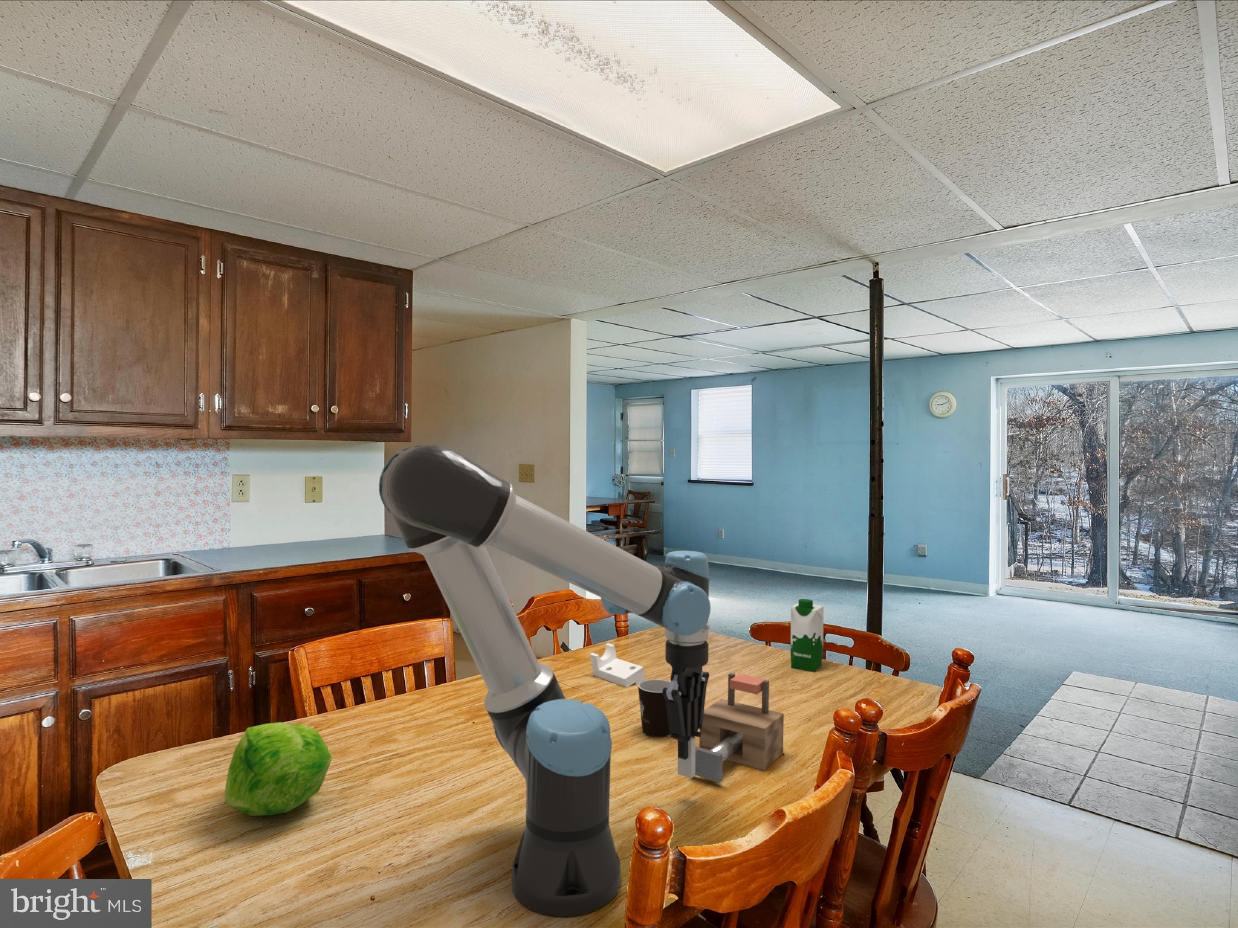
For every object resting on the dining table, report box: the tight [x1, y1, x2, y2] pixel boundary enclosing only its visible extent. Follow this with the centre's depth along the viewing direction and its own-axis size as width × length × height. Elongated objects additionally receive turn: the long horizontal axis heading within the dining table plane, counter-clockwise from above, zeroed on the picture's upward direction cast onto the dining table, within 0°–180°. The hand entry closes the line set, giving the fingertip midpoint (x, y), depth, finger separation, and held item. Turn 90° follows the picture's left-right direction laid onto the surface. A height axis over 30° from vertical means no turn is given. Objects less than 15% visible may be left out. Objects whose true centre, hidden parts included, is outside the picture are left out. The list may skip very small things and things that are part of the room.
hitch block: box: [698, 672, 785, 771], centre depth 136 cm, size 10×14×14 cm
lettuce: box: [224, 721, 333, 817], centre depth 112 cm, size 15×20×14 cm
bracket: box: [589, 642, 646, 688], centre depth 181 cm, size 13×7×8 cm, turn 44°
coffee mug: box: [637, 678, 671, 738], centre depth 147 cm, size 12×9×10 cm
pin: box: [695, 732, 743, 784], centre depth 129 cm, size 15×6×5 cm, turn 145°
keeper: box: [730, 673, 768, 695], centre depth 138 cm, size 5×6×2 cm
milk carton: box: [790, 598, 825, 673], centre depth 195 cm, size 9×9×20 cm
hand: (686, 774), depth 116 cm, fingers closed
